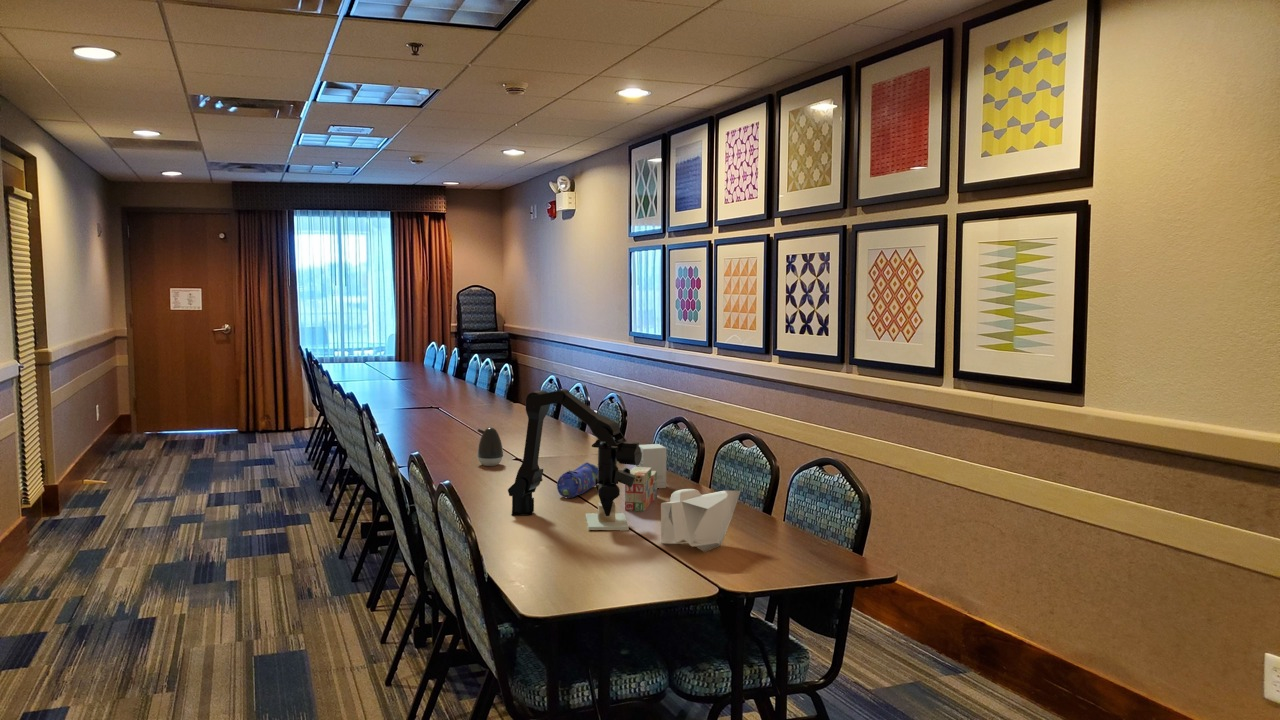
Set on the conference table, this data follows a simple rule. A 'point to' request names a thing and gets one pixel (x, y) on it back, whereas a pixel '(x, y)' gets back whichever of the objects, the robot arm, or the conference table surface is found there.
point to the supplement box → (655, 461)
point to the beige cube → (603, 517)
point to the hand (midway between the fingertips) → (606, 512)
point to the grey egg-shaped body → (490, 447)
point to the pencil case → (577, 480)
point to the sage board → (596, 525)
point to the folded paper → (697, 517)
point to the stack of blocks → (641, 489)
